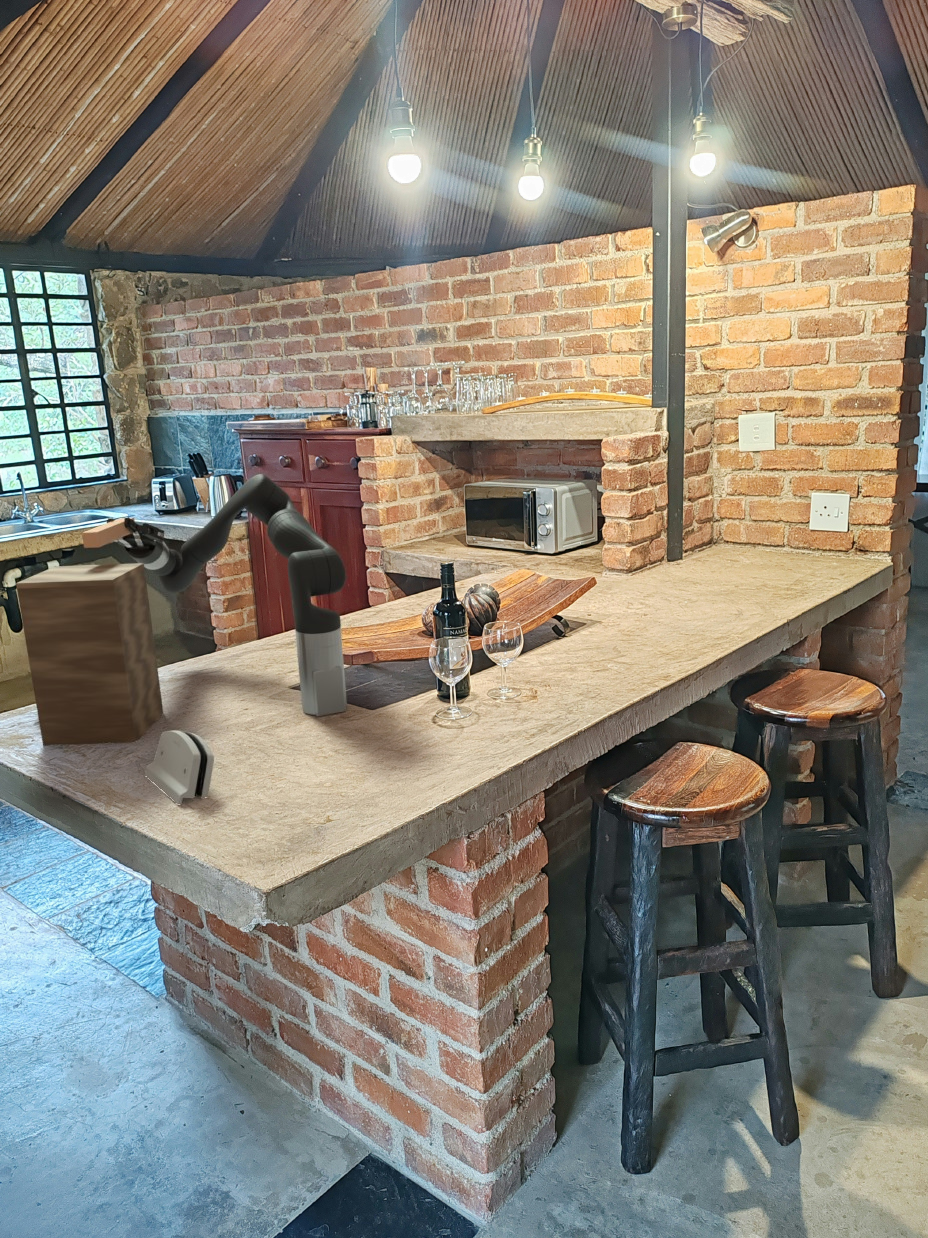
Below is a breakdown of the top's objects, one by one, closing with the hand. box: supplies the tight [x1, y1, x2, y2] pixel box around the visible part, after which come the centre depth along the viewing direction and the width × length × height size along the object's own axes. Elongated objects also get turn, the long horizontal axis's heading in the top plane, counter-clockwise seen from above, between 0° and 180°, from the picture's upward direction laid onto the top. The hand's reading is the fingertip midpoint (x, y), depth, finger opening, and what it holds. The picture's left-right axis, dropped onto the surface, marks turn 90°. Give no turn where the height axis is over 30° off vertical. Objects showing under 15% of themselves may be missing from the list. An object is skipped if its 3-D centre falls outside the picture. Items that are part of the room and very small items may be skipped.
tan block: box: [81, 517, 136, 549], centre depth 188 cm, size 20×3×3 cm, turn 179°
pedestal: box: [15, 562, 164, 746], centre depth 178 cm, size 16×18×32 cm
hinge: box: [144, 729, 215, 805], centre depth 154 cm, size 17×5×10 cm, turn 38°
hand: (117, 521), depth 192 cm, fingers closed on tan block, 3 cm apart
